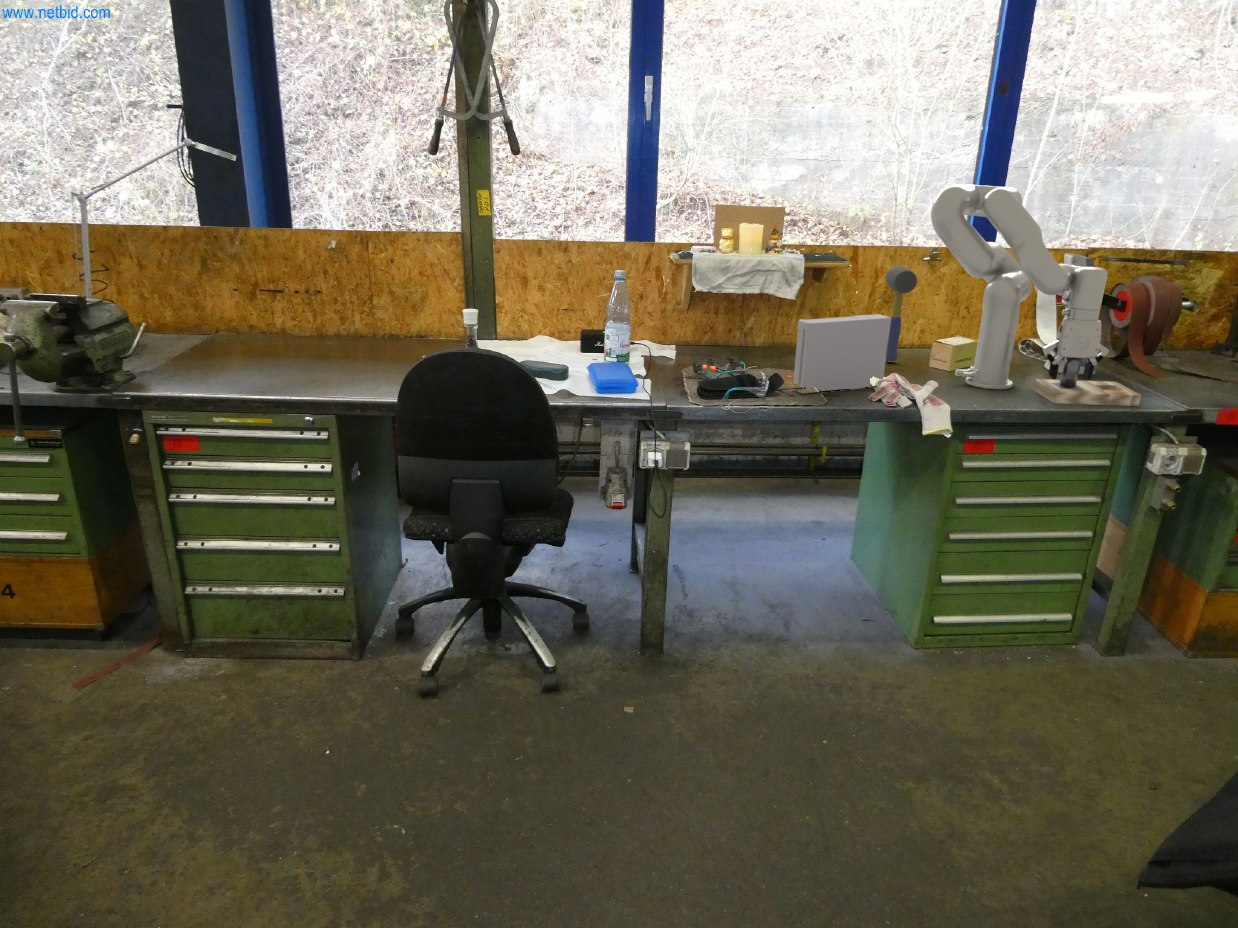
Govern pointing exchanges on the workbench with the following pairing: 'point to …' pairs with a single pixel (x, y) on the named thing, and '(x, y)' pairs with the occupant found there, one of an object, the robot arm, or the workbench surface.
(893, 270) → the rubber mallet
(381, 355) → the workbench surface
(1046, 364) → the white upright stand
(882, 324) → the game console
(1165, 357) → the workbench surface
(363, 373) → the workbench surface
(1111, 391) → the fixture board
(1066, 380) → the peg
